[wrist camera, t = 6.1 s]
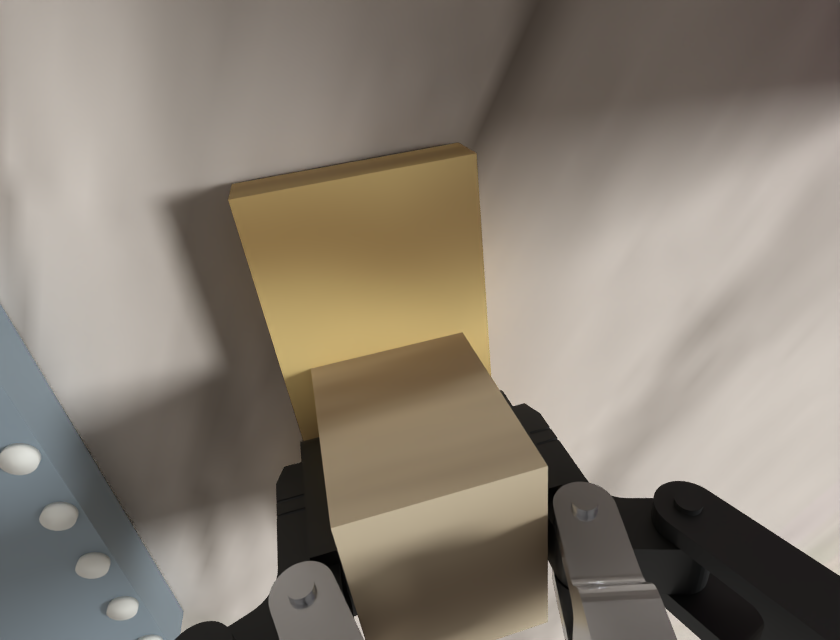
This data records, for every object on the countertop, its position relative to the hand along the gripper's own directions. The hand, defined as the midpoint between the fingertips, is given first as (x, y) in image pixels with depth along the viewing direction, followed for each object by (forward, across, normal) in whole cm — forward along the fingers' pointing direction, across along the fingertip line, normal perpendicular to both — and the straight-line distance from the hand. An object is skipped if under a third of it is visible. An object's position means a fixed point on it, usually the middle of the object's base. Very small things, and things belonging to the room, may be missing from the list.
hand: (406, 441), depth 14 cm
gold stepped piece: (+2, 0, 0) cm, 2 cm away
